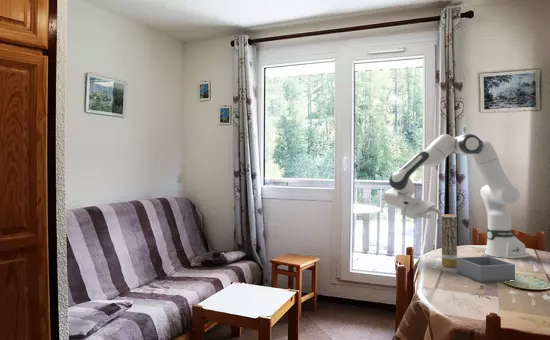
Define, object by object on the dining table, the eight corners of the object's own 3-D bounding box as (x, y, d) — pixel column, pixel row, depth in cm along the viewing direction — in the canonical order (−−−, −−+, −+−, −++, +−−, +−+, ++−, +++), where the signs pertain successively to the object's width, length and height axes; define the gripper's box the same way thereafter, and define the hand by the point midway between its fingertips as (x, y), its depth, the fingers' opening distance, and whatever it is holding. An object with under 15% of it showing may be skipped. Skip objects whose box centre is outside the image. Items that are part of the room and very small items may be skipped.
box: (488, 271, 178) (488, 256, 178) (515, 281, 162) (514, 264, 162) (457, 272, 176) (456, 257, 175) (480, 283, 160) (480, 266, 160)
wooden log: (458, 268, 184) (458, 216, 184) (443, 267, 185) (443, 215, 185) (455, 264, 191) (454, 214, 190) (440, 264, 192) (440, 214, 192)
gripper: (420, 206, 214) (444, 214, 204) (399, 215, 202) (423, 225, 191) (422, 195, 212) (446, 203, 201) (400, 204, 199) (424, 214, 189)
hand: (434, 214), depth 196 cm, fingers open, 8 cm apart
